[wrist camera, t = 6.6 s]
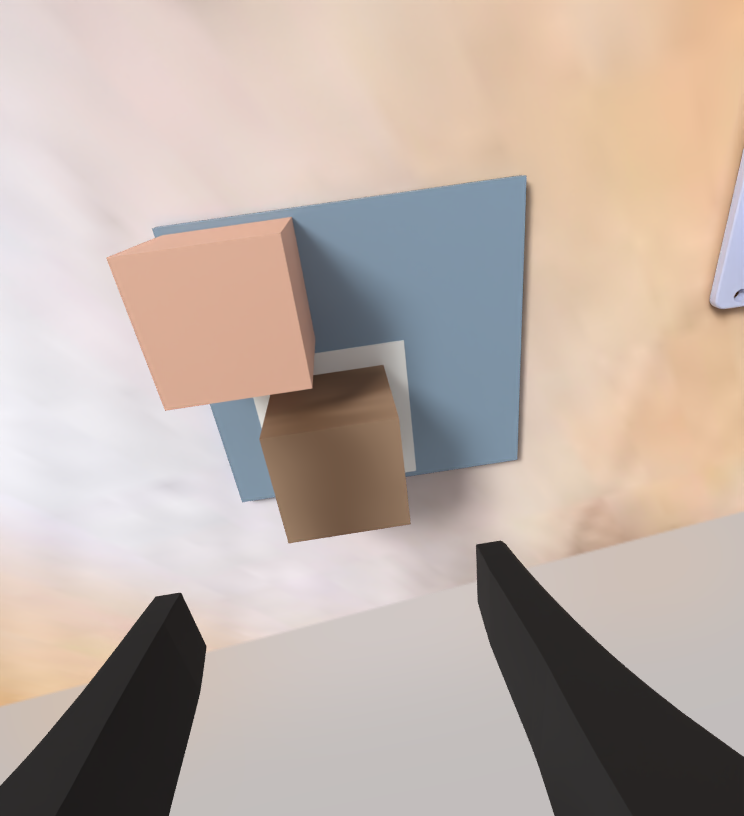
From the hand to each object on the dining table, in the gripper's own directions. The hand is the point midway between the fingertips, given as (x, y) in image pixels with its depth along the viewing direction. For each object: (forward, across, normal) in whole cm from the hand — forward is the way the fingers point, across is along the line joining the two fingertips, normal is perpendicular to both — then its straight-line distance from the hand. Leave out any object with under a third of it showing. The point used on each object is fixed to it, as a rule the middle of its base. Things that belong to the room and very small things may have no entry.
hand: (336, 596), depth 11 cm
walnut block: (+9, 0, 0) cm, 9 cm away
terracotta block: (+9, +2, -6) cm, 11 cm away
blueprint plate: (+10, -2, -2) cm, 10 cm away
